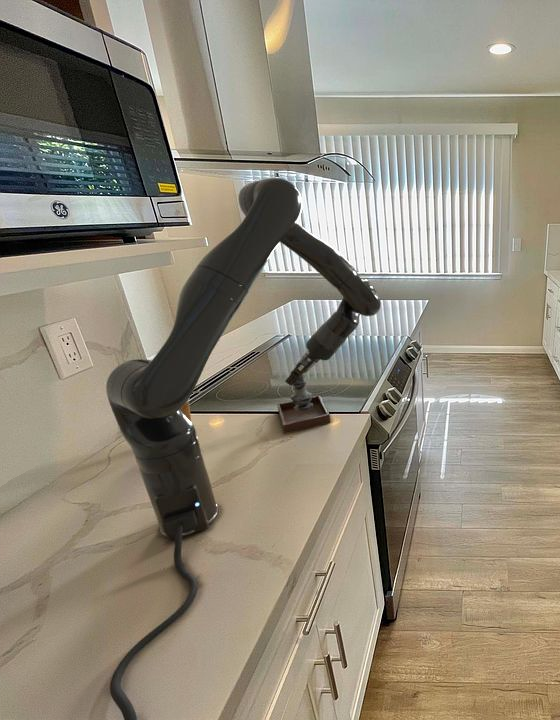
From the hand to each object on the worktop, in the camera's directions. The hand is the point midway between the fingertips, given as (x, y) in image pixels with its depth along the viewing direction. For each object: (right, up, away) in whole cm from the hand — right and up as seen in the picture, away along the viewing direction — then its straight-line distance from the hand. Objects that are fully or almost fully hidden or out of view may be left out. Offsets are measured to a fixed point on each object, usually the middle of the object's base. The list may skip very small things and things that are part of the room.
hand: (291, 380), depth 114 cm
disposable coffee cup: (-28, -15, -6) cm, 32 cm away
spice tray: (+2, -11, +4) cm, 12 cm away
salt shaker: (+2, -8, +3) cm, 9 cm away
